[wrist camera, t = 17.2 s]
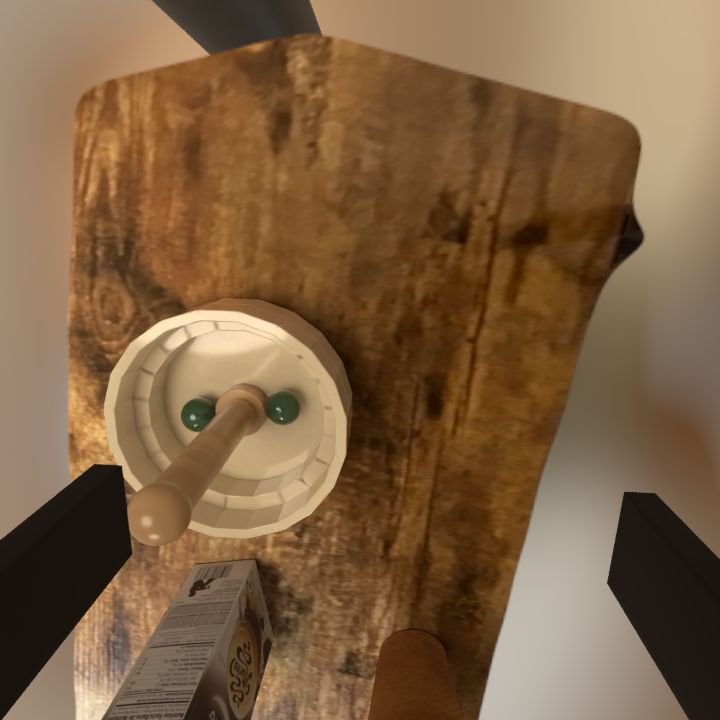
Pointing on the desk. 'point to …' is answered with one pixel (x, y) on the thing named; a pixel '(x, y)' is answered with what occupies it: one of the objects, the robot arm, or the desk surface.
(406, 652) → the disposable coffee cup
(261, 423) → the muddler
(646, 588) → the robot arm
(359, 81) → the desk surface
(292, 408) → the marble
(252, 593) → the coffee box
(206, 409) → the marble
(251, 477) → the bowl
